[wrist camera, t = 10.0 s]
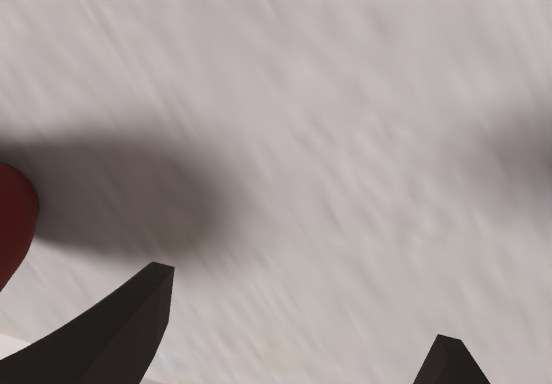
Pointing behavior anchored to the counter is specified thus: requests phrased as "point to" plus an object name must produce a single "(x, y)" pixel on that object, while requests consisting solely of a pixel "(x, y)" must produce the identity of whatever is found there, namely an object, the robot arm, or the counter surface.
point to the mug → (15, 220)
